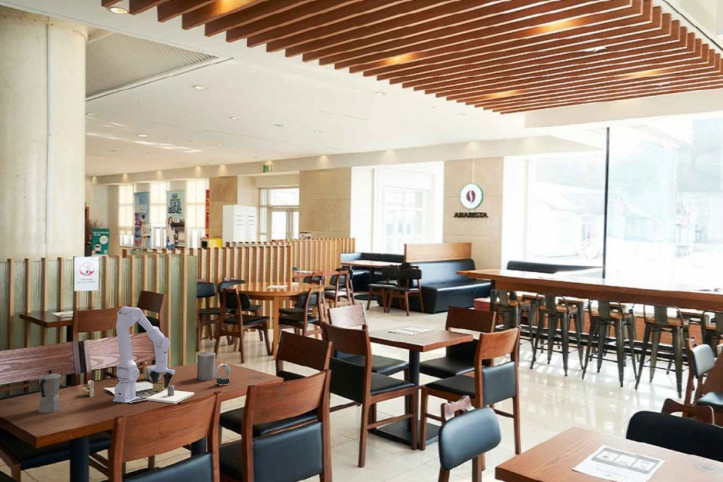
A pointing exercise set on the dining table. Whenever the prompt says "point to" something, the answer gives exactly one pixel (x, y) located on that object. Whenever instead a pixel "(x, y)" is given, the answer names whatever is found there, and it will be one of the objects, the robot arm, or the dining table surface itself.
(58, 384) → the coffeepot
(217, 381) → the watch
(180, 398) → the post stand
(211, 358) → the pillar candle
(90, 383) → the architectural model
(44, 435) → the dining table surface
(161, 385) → the wooden square ring
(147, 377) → the ceramic mug
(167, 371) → the robot arm
